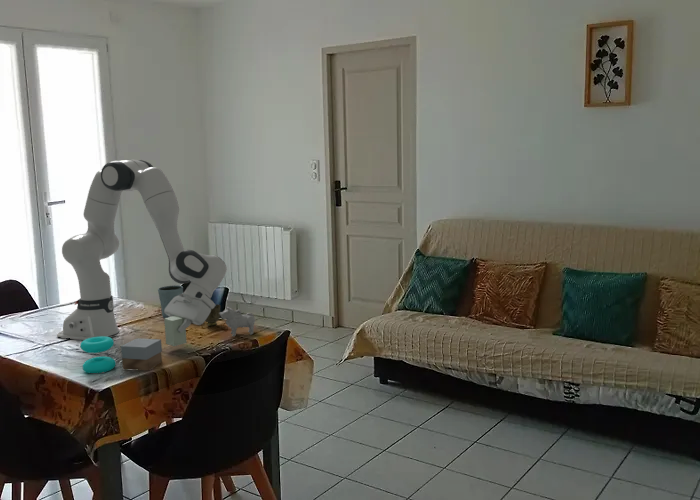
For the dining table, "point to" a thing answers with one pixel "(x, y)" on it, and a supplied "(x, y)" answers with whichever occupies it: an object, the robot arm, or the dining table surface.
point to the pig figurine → (238, 320)
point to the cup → (213, 316)
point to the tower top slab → (141, 348)
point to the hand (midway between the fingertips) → (173, 329)
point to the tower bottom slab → (142, 363)
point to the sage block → (174, 331)
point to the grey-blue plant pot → (168, 296)
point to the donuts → (98, 346)
